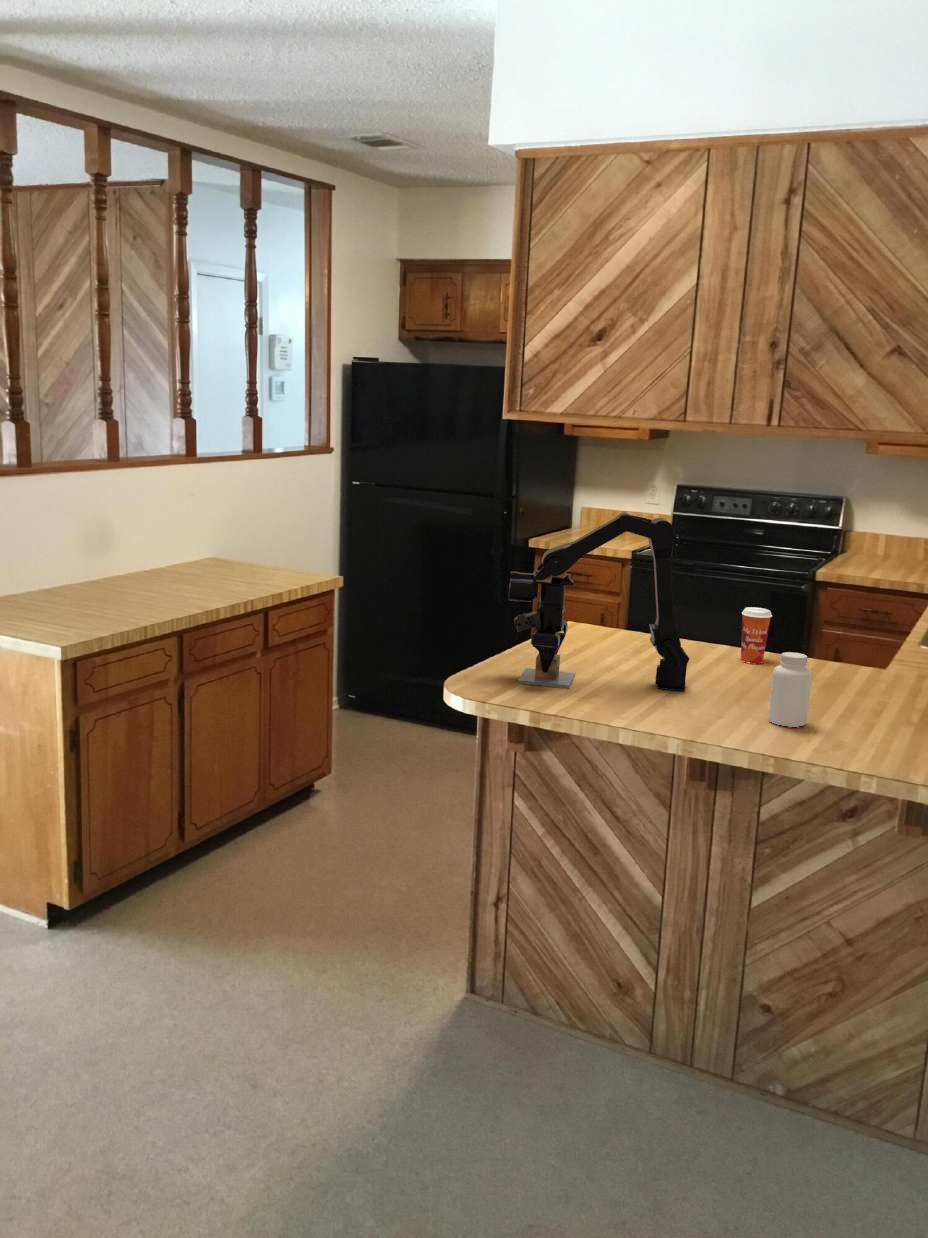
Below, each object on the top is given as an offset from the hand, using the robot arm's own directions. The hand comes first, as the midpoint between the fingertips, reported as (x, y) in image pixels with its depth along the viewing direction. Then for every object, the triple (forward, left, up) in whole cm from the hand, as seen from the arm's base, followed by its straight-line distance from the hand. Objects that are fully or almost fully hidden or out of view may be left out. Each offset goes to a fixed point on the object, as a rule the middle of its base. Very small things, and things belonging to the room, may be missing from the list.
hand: (547, 667), depth 254 cm
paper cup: (-49, -40, -3) cm, 63 cm away
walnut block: (0, 0, -2) cm, 2 cm away
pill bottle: (-54, +15, -3) cm, 56 cm away
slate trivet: (0, 0, -3) cm, 3 cm away
